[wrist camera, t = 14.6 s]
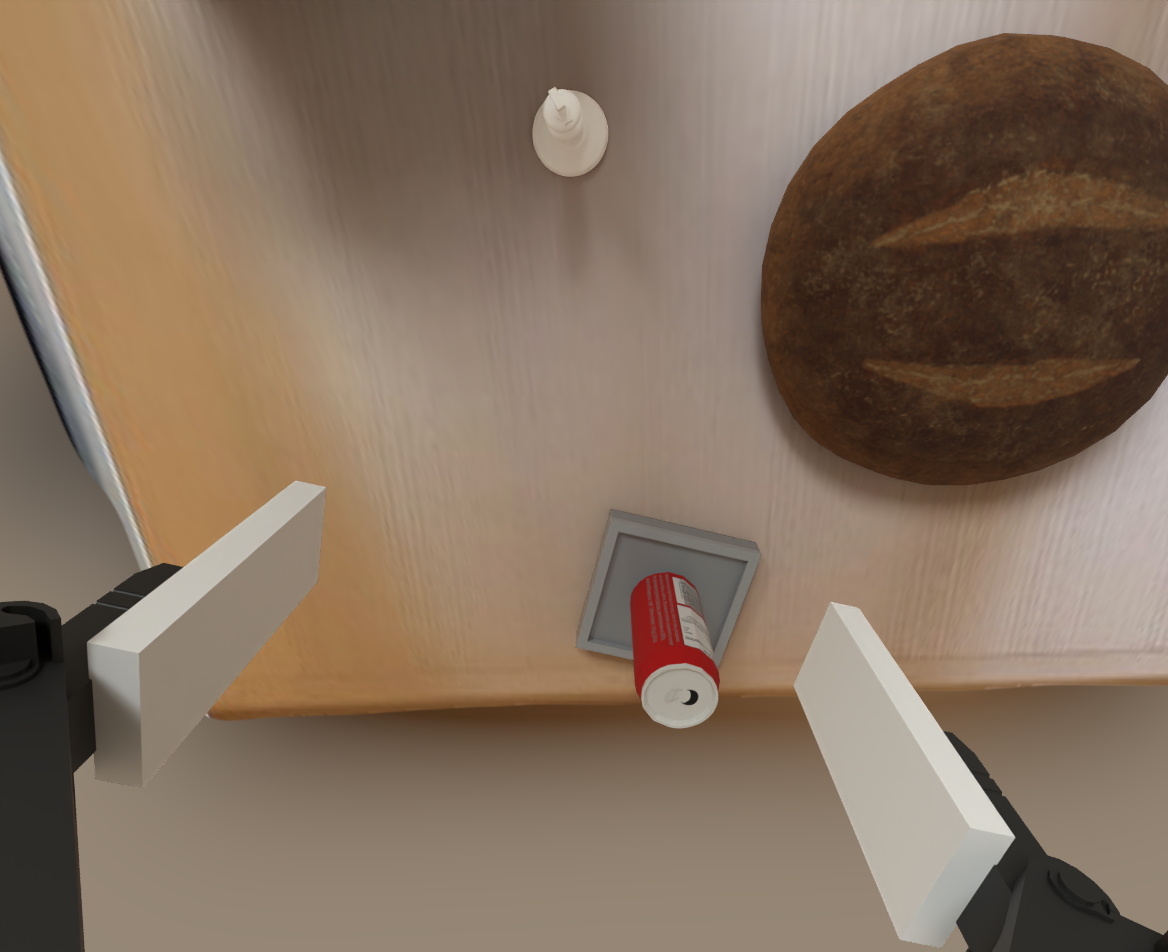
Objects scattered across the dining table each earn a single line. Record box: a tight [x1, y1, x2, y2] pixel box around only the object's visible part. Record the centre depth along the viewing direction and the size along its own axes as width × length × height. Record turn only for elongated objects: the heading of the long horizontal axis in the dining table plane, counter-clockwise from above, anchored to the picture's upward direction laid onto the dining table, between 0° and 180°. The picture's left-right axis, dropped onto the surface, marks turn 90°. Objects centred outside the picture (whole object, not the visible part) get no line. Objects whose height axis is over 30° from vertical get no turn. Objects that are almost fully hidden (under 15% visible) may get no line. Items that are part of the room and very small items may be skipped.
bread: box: [761, 33, 1168, 485], centre depth 39 cm, size 28×27×9 cm
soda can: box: [630, 572, 720, 728], centre depth 45 cm, size 6×6×12 cm
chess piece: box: [532, 87, 608, 177], centre depth 36 cm, size 5×5×10 cm
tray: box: [576, 509, 761, 668], centre depth 51 cm, size 12×12×2 cm
